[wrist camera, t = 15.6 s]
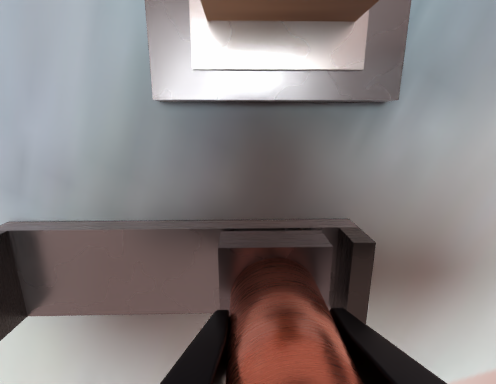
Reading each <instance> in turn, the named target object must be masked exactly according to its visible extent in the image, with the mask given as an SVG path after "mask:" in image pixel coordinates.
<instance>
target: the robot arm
mask: <svg viewBox="0 0 496 384" xmlns="http://www.w3.org/2000/svg"><path fill="white" fill-rule="evenodd" d="M329 312H330V314H331V316H332V318H333V320H334V322H335V324H336V326H337V329H338V331H339V333H340V335H341V337H342V339H343V341H344V343H345V346H346V348H347V350H348V352H349V354H350V356H351V358H352V360H353V362H354V365H355V367H356V369H357V371H358V373H359V375H360V377H361V379H362V382H363V384H447V383H445V382H444V381H443V380H441V379H440V378H439V377H437V376H436V375H434V374H433V373H432V372H430V371H429V370H428V369H426V368H425V367H424V366H422V365H421V364H419V363H418V362H417V361H415V360H414V359H413V358H411V357H410V356H408V355H407V354H406V353H404V352H403V351H402V350H400V349H399V348H397V347H396V346H395V345H393V344H392V343H391V342H389V341H388V340H387V339H385V338H384V337H382V336H381V335H380V334H378V333H377V332H376V331H374V330H373V329H371V328H370V327H369V326H367V325H366V324H365V323H363V322H362V321H361V320H359V319H358V318H356V317H355V316H354V315H352V314H351V313H350V312H348V311H347V310H345V309H344V308H331V309H330V311H329ZM228 332H229V310H216V311H215V312H214V314H213V315H212V316H211V317H210V319H209V320H208V321H207V323H206V324H205V325H204V327H203V328H202V329H201V331H200V332H199V333H198V335H197V336H196V337H195V339H194V340H193V341H192V342H191V344H190V345H189V346H188V348H187V349H186V350H185V352H184V353H183V354H182V356H181V357H180V358H179V360H178V361H177V362H176V364H175V365H174V366H173V367H172V369H171V370H170V371H169V373H168V374H167V375H166V377H165V378H164V379H163V381H162V382H161V383H160V384H225V381H226V364H227V349H228Z"/></svg>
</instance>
